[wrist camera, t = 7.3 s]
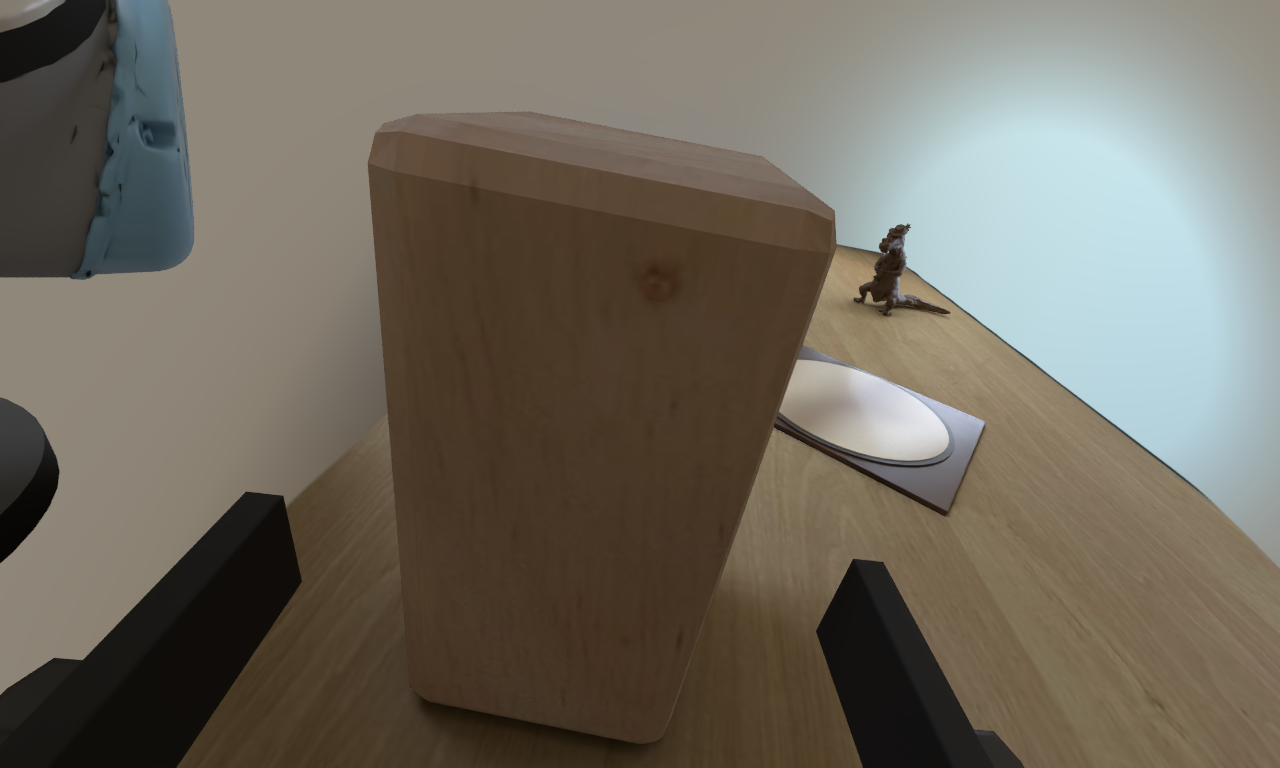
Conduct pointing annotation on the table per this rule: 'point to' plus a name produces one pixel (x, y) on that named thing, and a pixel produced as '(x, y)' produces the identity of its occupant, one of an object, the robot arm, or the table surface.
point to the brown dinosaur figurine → (893, 275)
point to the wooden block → (577, 398)
